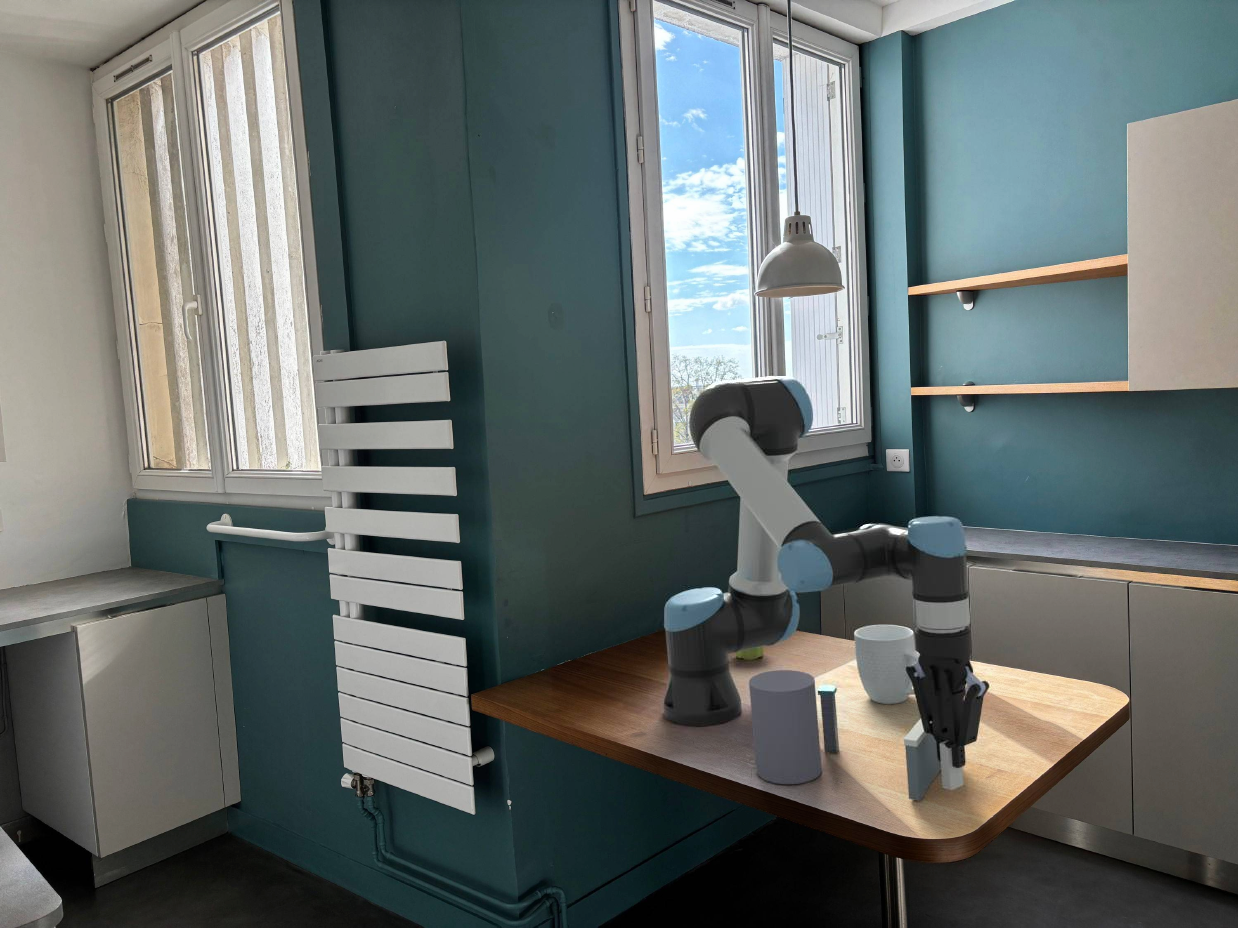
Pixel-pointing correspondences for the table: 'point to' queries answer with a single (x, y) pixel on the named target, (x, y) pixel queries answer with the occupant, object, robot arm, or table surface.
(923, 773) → the grey flat board
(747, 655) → the plant pot
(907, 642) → the mug
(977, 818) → the table surface
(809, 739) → the container
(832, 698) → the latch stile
